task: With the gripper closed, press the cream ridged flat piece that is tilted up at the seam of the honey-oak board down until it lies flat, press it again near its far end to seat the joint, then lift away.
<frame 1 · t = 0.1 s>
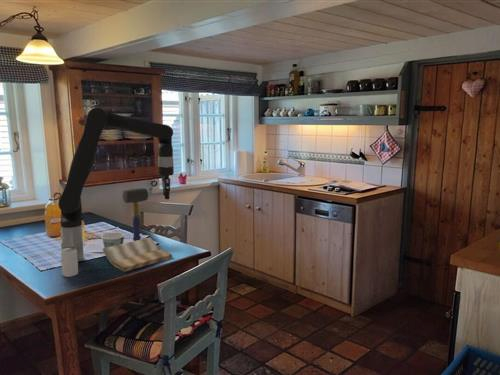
hand: (166, 197, 205), 29 cm above the table, tool pointing down, fingers open, 8 cm apart
can: (70, 274, 180), on the table
rubber mallet: (136, 241, 227), on the table
food container: (113, 247, 217), on the table
oak board: (143, 261, 197), on the table
cream ridged flat piece: (132, 250, 203), point 3 cm above the table, hinge at 25.0°
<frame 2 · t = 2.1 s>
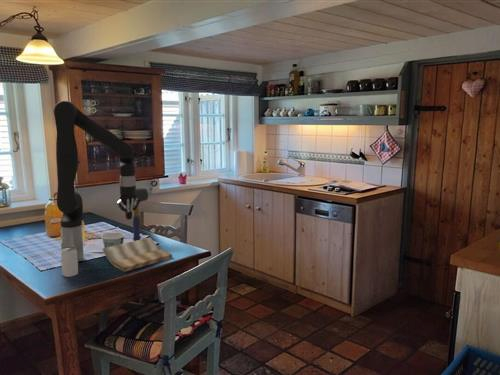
hand: (129, 219, 202), 19 cm above the table, tool pointing down, fingers closed
nothing on the table moved.
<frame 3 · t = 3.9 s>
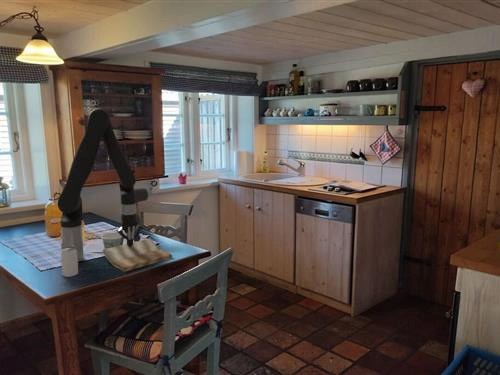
hand: (130, 245, 205), 5 cm above the table, tool pointing down, fingers closed
cream ridged flat piece: (132, 250, 204), point 3 cm above the table, hinge at 20.7°, touching gripper
everything else where it was.
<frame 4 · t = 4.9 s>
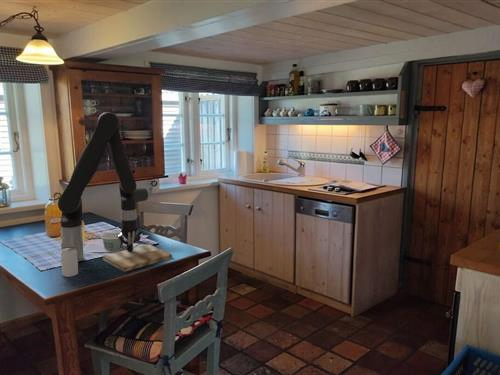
hand: (130, 251, 205), 2 cm above the table, tool pointing down, fingers closed
cream ridged flat piece: (132, 254, 204), point 1 cm above the table, hinge at 0.7°, touching gripper
everything else where it was.
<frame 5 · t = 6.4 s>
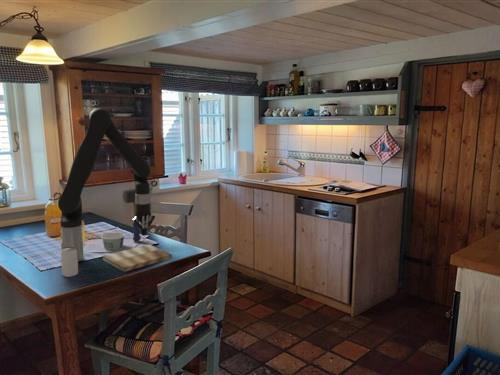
hand: (144, 235, 209), 9 cm above the table, tool pointing down, fingers closed
cream ridged flat piece: (132, 254, 204), point 1 cm above the table, hinge at 0.7°
everything else where it was.
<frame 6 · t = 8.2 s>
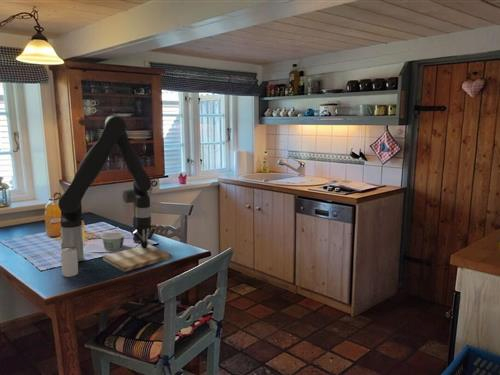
hand: (144, 247, 211), 2 cm above the table, tool pointing down, fingers closed
cream ridged flat piece: (132, 254, 204), point 1 cm above the table, hinge at 0.7°, touching gripper
everything else where it was.
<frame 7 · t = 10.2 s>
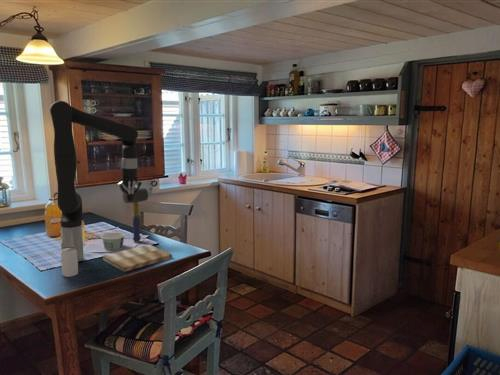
hand: (129, 201, 205), 27 cm above the table, tool pointing down, fingers closed
cream ridged flat piece: (132, 254, 204), point 1 cm above the table, hinge at 0.7°
everything else where it was.
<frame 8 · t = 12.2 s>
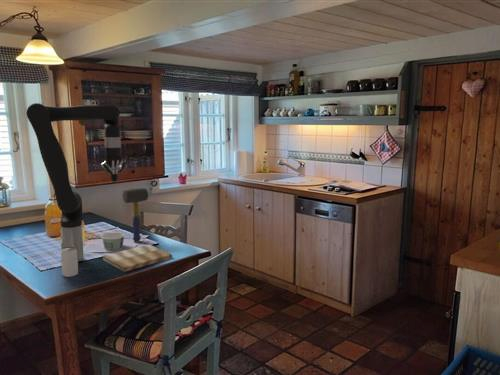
hand: (114, 181, 202), 37 cm above the table, tool pointing down, fingers closed
nothing on the table moved.
at the end: cream ridged flat piece at +1° (first picture: +25°); rubber mallet moved 0.2 cm from its start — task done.
